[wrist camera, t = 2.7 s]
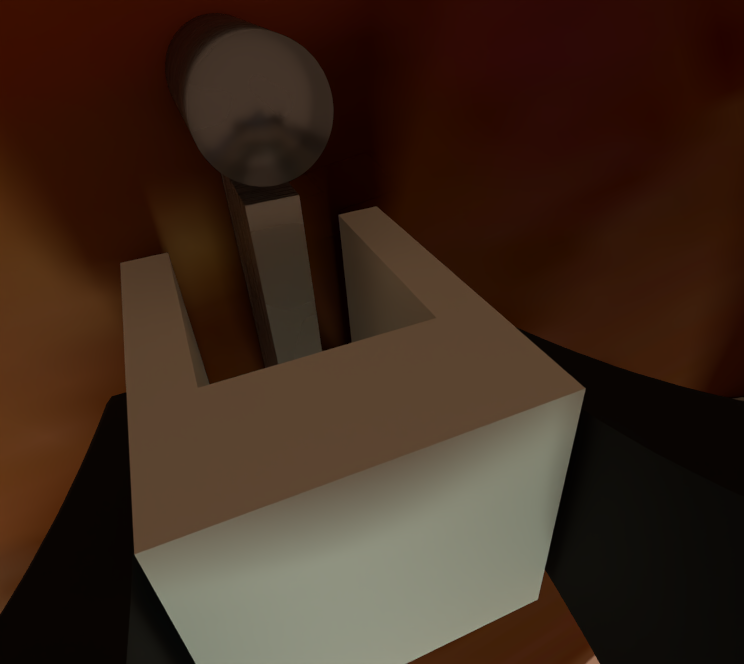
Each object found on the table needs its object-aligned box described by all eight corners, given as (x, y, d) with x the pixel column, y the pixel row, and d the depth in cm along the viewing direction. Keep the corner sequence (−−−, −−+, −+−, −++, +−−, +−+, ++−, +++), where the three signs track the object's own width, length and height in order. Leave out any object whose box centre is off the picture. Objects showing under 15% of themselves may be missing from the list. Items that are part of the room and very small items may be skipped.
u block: (387, 379, 13) (537, 599, 9) (188, 443, 12) (241, 744, 7) (376, 206, 11) (586, 388, 6) (120, 262, 9) (134, 554, 5)
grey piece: (493, 539, 21) (541, 610, 18) (-13, 242, 9) (-56, 339, 6) (602, 443, 20) (666, 505, 18) (218, -16, 8) (261, -10, 6)
